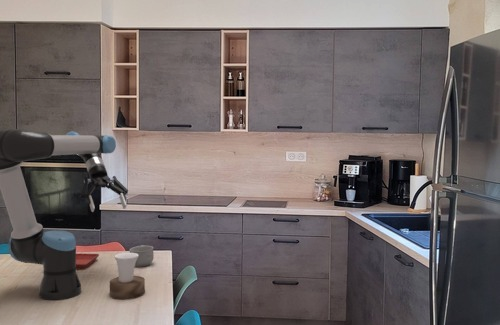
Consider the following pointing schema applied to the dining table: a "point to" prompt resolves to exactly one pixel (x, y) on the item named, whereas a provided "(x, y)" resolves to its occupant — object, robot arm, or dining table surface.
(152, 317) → the dining table surface
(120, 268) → the cup
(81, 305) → the dining table surface
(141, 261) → the teacup
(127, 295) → the walnut stand
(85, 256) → the plant saucer
